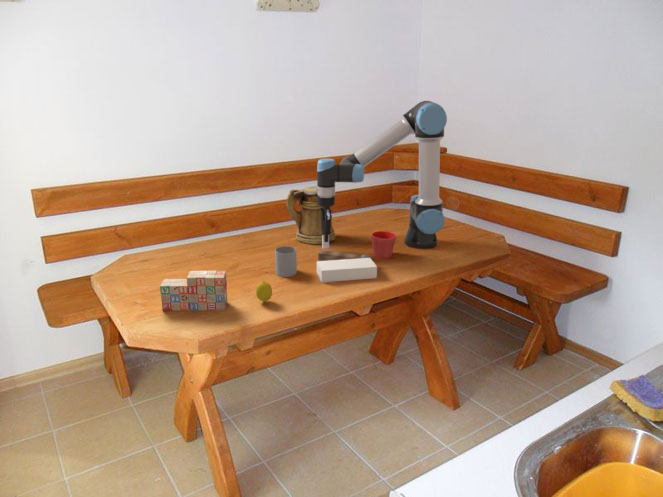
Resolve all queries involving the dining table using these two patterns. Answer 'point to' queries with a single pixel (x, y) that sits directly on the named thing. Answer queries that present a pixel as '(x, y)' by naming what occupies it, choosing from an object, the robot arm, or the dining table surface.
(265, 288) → the lemon
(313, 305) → the dining table surface
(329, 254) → the folding leg
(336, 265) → the white rectangular box
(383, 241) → the flower pot
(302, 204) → the tankard
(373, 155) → the robot arm
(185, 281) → the stack of blocks
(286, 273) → the cup
